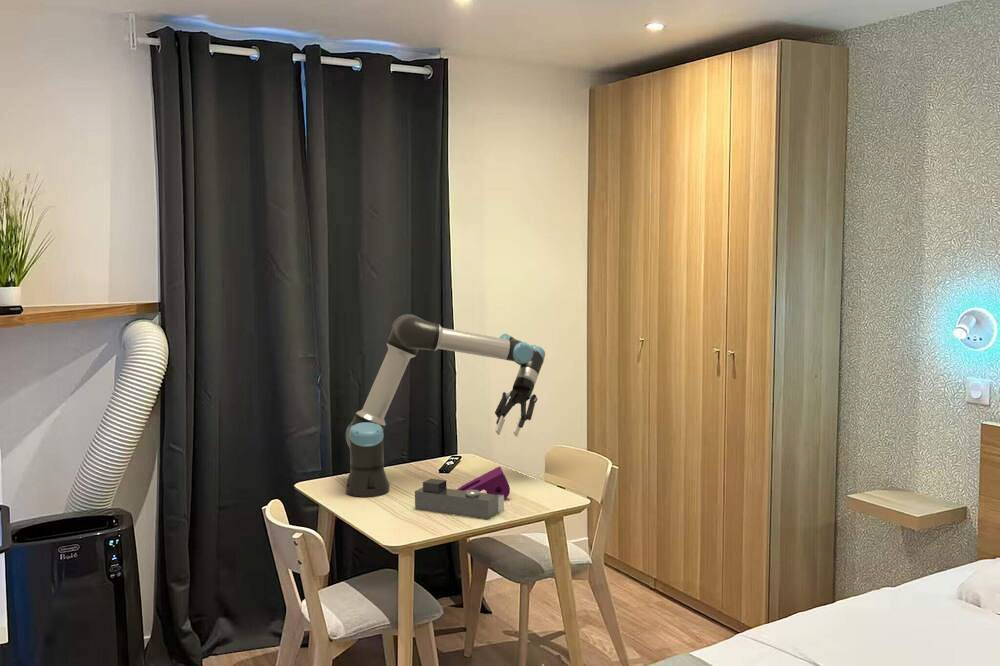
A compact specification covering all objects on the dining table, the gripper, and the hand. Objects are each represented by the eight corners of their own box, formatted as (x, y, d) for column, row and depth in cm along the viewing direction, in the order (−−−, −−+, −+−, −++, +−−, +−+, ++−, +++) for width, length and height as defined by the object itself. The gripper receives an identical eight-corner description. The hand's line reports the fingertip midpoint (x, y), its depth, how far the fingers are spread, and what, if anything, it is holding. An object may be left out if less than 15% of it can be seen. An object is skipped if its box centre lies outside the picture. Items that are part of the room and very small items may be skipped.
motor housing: (415, 509, 287) (414, 482, 286) (432, 500, 296) (432, 474, 295) (488, 519, 274) (488, 491, 274) (504, 510, 284) (503, 482, 283)
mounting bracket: (466, 519, 295) (513, 494, 295) (454, 497, 294) (502, 473, 294) (464, 510, 304) (510, 487, 305) (453, 489, 303) (500, 466, 304)
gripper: (551, 389, 326) (534, 441, 313) (505, 386, 335) (485, 436, 322) (546, 377, 321) (527, 429, 308) (498, 374, 329) (478, 425, 316)
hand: (506, 433), depth 315 cm, fingers open, 6 cm apart
